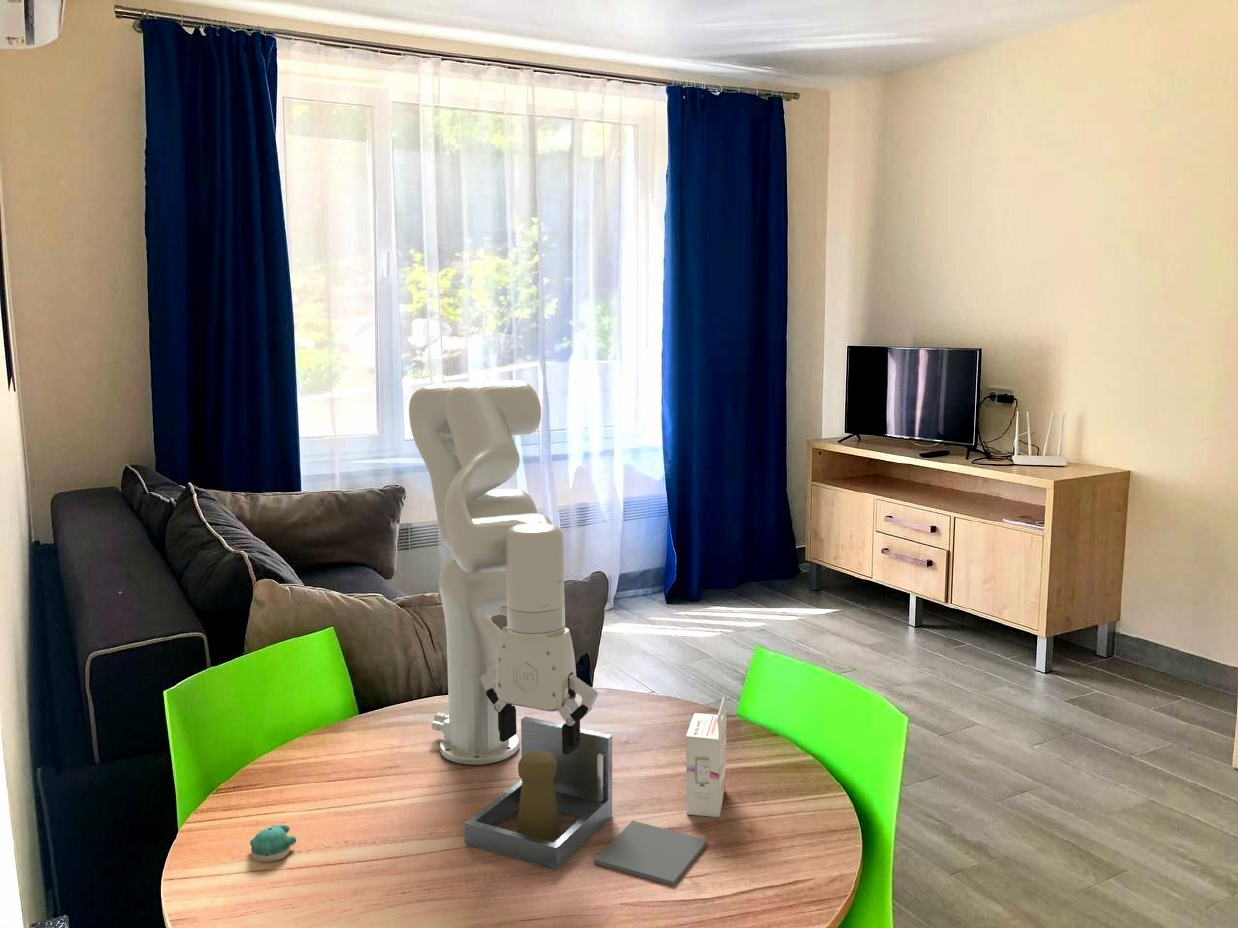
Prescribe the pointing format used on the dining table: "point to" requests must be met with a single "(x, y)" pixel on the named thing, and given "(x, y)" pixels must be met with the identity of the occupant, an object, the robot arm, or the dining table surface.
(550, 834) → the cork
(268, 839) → the whale figurine
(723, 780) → the ink cartridge box
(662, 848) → the rubber mat
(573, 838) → the open lid tray
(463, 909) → the dining table surface
